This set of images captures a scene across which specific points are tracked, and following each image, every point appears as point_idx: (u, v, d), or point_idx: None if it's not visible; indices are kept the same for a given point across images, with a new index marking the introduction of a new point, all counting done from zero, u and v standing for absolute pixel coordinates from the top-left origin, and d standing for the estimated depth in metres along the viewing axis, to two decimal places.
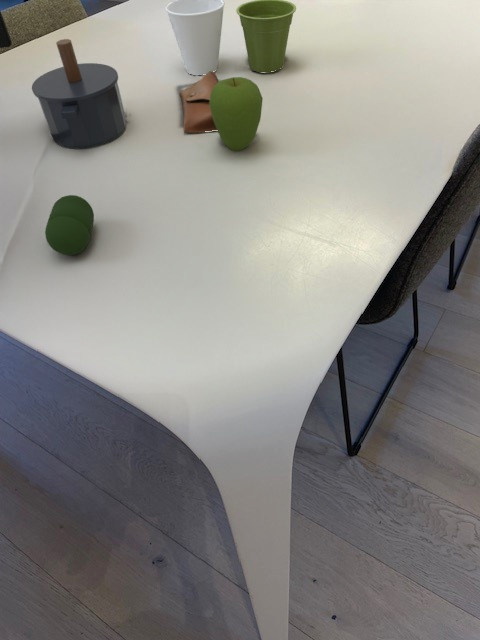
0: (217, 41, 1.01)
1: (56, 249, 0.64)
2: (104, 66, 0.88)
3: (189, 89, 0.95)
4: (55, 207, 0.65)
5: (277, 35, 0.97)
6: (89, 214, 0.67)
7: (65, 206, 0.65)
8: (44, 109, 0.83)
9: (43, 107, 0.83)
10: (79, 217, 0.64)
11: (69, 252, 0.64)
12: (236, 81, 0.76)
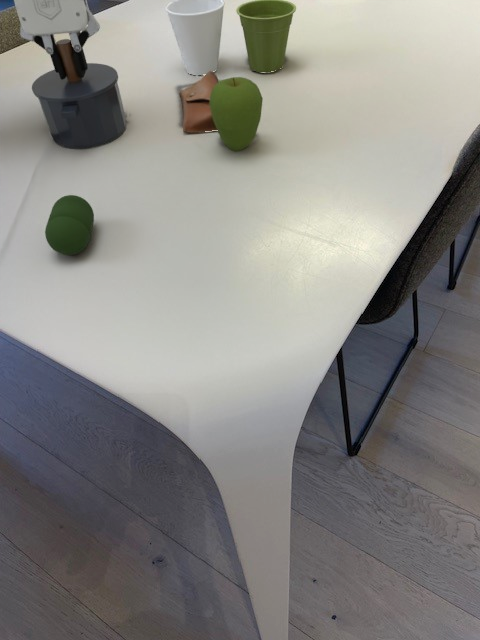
0: (217, 41, 1.01)
1: (56, 249, 0.64)
2: (104, 66, 0.88)
3: (189, 89, 0.95)
4: (55, 207, 0.65)
5: (277, 35, 0.97)
6: (89, 214, 0.67)
7: (65, 206, 0.65)
8: (44, 109, 0.83)
9: (43, 107, 0.83)
10: (79, 217, 0.64)
11: (69, 252, 0.64)
12: (236, 81, 0.76)
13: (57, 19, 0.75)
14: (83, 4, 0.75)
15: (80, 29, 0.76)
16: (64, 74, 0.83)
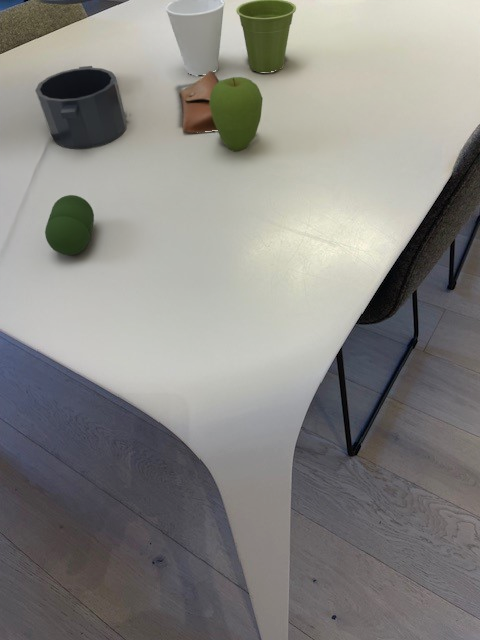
0: (217, 41, 1.01)
1: (56, 249, 0.64)
2: None
3: (189, 89, 0.95)
4: (55, 207, 0.65)
5: (277, 35, 0.97)
6: (89, 214, 0.67)
7: (65, 206, 0.65)
8: (44, 109, 0.83)
9: (43, 107, 0.83)
10: (79, 217, 0.64)
11: (69, 252, 0.64)
12: (236, 81, 0.76)
13: None
14: None
15: None
16: None
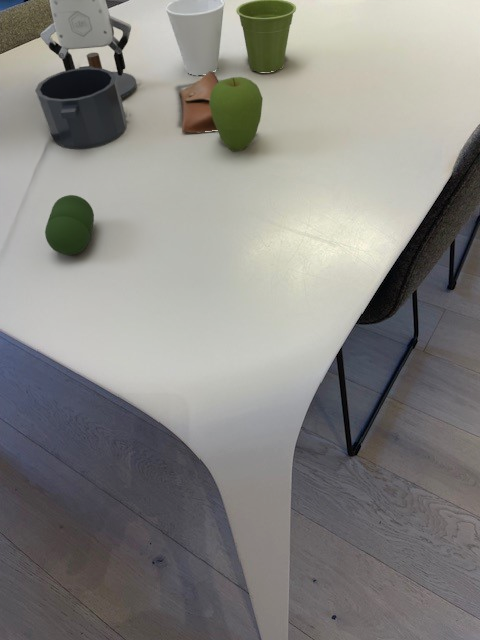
0: (217, 41, 1.01)
1: (56, 249, 0.64)
2: (124, 74, 1.05)
3: (189, 89, 0.95)
4: (55, 207, 0.65)
5: (277, 35, 0.97)
6: (89, 214, 0.67)
7: (65, 206, 0.65)
8: (44, 109, 0.83)
9: (43, 107, 0.83)
10: (79, 217, 0.64)
11: (69, 252, 0.64)
12: (236, 81, 0.76)
13: (88, 36, 0.92)
14: (109, 24, 0.92)
15: (106, 44, 0.94)
16: None
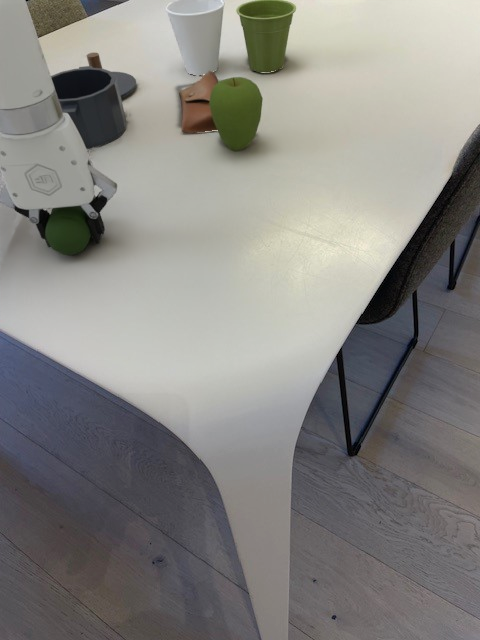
0: (217, 41, 1.01)
1: (56, 249, 0.64)
2: (124, 74, 1.05)
3: (188, 89, 0.95)
4: None
5: (277, 35, 0.97)
6: None
7: None
8: None
9: None
10: (79, 217, 0.64)
11: (69, 252, 0.64)
12: (236, 81, 0.76)
13: (56, 194, 0.60)
14: (89, 176, 0.60)
15: (85, 203, 0.61)
16: None
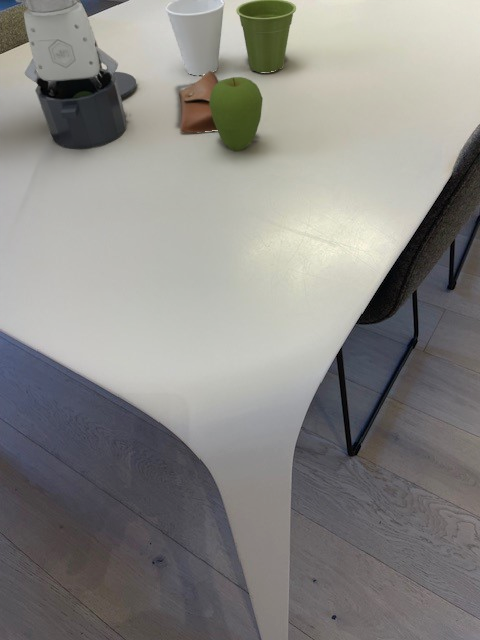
0: (217, 41, 1.01)
1: None
2: (124, 74, 1.05)
3: (188, 89, 0.95)
4: (74, 97, 0.87)
5: (277, 35, 0.97)
6: None
7: (82, 96, 0.87)
8: (44, 109, 0.83)
9: (43, 107, 0.83)
10: None
11: None
12: (236, 81, 0.76)
13: (71, 67, 0.80)
14: (96, 53, 0.80)
15: (93, 76, 0.82)
16: None
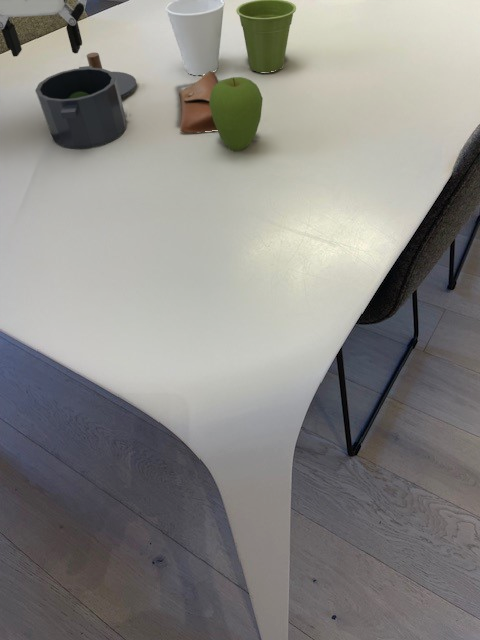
0: (217, 41, 1.01)
1: None
2: (124, 74, 1.05)
3: (188, 89, 0.95)
4: None
5: (277, 35, 0.97)
6: None
7: (74, 97, 0.87)
8: (44, 109, 0.83)
9: (43, 107, 0.83)
10: None
11: None
12: (236, 81, 0.76)
13: (32, 0, 0.73)
14: None
15: (56, 12, 0.74)
16: (17, 51, 0.80)
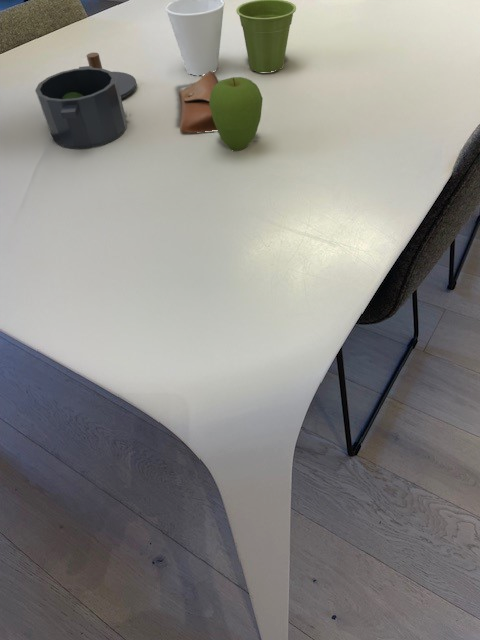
0: (217, 41, 1.01)
1: None
2: (124, 74, 1.05)
3: (188, 89, 0.95)
4: None
5: (277, 35, 0.97)
6: None
7: None
8: (44, 109, 0.83)
9: (43, 107, 0.83)
10: None
11: None
12: (236, 81, 0.76)
13: None
14: None
15: None
16: None
